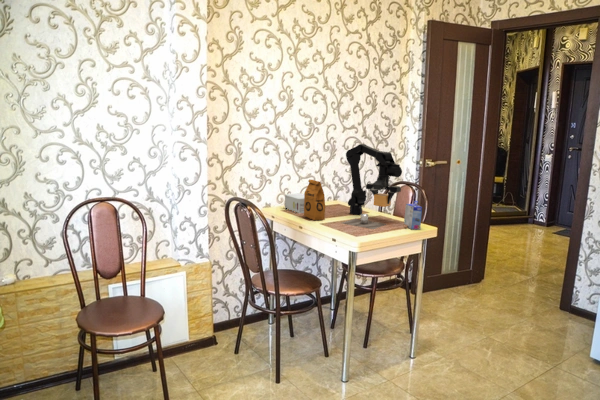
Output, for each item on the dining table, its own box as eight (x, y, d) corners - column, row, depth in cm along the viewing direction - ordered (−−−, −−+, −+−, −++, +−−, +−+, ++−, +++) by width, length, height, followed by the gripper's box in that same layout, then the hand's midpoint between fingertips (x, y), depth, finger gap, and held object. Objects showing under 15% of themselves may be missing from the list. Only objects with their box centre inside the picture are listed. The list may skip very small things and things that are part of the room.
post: (358, 223, 240) (359, 214, 239) (362, 222, 243) (363, 213, 242) (365, 224, 237) (366, 215, 237) (369, 223, 241) (369, 214, 240)
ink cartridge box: (421, 229, 235) (423, 202, 233) (411, 229, 234) (413, 202, 232) (412, 225, 245) (414, 199, 243) (403, 225, 244) (405, 199, 241)
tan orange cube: (373, 205, 248) (374, 194, 246) (379, 203, 253) (379, 193, 252) (385, 206, 243) (385, 196, 242) (390, 205, 249) (391, 194, 248)
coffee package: (312, 221, 247) (313, 182, 244) (301, 217, 258) (302, 179, 254) (327, 220, 252) (329, 181, 248) (316, 215, 263) (317, 178, 259)
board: (340, 225, 240) (340, 223, 240) (355, 220, 253) (355, 218, 252) (373, 231, 228) (373, 229, 228) (387, 226, 241) (387, 224, 241)
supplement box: (284, 208, 282) (284, 194, 280) (301, 207, 289) (301, 193, 288) (298, 213, 268) (298, 198, 266) (316, 212, 275) (317, 197, 274)
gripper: (361, 174, 244) (360, 202, 247) (393, 178, 233) (391, 207, 236) (371, 173, 253) (369, 200, 256) (402, 176, 242) (400, 204, 245)
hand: (382, 203), depth 248 cm, fingers closed on tan orange cube, 7 cm apart
